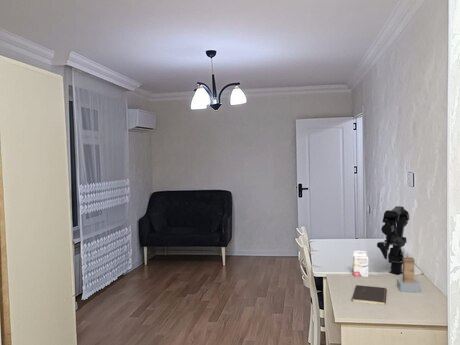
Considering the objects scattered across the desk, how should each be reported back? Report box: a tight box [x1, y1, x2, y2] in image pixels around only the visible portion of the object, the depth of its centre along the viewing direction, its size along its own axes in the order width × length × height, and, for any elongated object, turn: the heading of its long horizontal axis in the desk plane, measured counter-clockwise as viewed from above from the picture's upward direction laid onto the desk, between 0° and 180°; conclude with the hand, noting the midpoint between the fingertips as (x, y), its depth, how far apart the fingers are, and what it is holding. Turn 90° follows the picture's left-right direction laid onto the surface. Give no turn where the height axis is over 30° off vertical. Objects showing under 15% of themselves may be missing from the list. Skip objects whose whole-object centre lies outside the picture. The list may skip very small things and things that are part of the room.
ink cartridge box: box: [352, 250, 370, 278], centre depth 277 cm, size 9×5×15 cm, turn 84°
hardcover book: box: [351, 285, 388, 306], centre depth 239 cm, size 16×23×2 cm
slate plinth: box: [396, 278, 421, 293], centre depth 250 cm, size 10×10×4 cm
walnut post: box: [402, 256, 415, 283], centre depth 250 cm, size 5×5×13 cm
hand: (390, 258), depth 271 cm, fingers open, 9 cm apart
